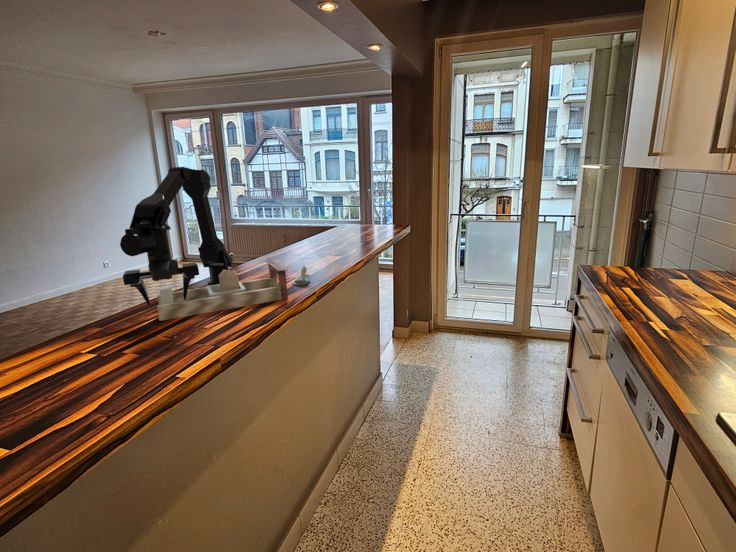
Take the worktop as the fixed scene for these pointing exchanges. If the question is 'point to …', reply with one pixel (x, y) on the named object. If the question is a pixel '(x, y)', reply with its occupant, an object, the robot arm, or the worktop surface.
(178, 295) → the channel
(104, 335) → the worktop surface
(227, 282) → the candle
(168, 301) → the square frame with handle
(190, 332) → the worktop surface
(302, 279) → the pacifier
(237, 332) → the worktop surface
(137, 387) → the worktop surface
